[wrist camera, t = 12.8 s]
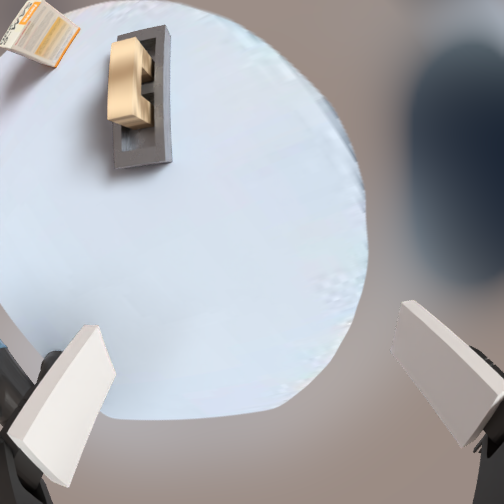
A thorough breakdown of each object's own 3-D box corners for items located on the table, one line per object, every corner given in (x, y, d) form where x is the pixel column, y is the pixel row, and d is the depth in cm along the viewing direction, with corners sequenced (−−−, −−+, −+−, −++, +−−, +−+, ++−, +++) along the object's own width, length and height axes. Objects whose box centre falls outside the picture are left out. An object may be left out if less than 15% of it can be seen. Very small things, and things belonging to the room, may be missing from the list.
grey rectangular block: (172, 161, 35) (165, 160, 31) (125, 168, 35) (114, 168, 31) (170, 36, 29) (165, 24, 26) (126, 45, 29) (117, 36, 25)
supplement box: (65, 26, 26) (27, -2, 13) (81, 29, 27) (44, -2, 14) (40, 65, 27) (-4, 46, 15) (56, 69, 28) (10, 48, 16)
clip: (154, 126, 33) (132, 114, 24) (134, 130, 32) (107, 119, 24) (154, 62, 30) (135, 36, 21) (135, 66, 30) (111, 43, 21)
